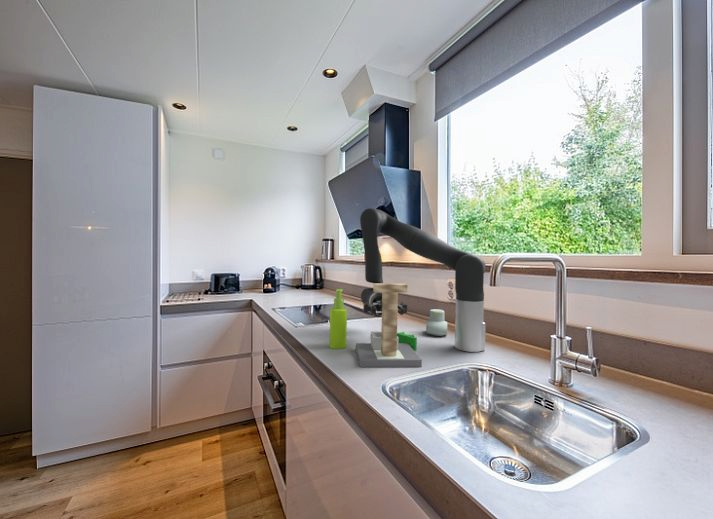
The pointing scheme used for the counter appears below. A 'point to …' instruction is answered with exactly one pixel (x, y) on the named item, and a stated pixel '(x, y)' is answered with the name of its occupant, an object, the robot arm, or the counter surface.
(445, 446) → the counter surface
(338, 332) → the soap dispenser
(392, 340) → the T-key
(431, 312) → the air freshener
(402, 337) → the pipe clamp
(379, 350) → the grey base plate
